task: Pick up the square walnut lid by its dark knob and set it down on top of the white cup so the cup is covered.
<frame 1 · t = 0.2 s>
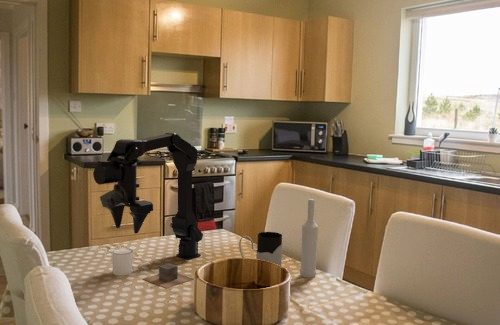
hand: (126, 230, 161), 14 cm above the table, tool pointing down, fingers open, 9 cm apart
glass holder: (259, 281, 161), on the table
walnut lid: (168, 281, 160), on the table
bottle: (307, 276, 168), on the table
white cup: (122, 273, 165), on the table
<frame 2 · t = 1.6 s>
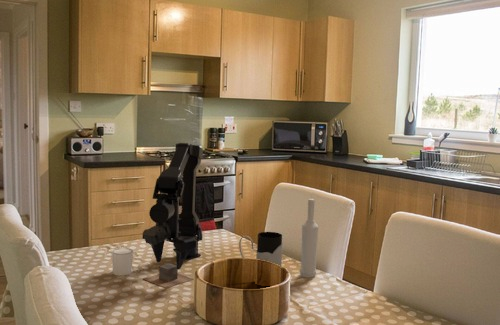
hand: (168, 265, 159), 4 cm above the table, tool pointing down, fingers open, 9 cm apart
nothing on the table moved.
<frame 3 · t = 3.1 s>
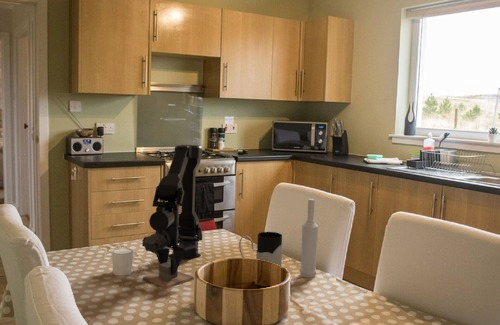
hand: (168, 273, 160), 2 cm above the table, tool pointing down, fingers closed on walnut lid, 4 cm apart
walnut lid: (168, 279, 160), on the table, touching gripper
everything else where it was.
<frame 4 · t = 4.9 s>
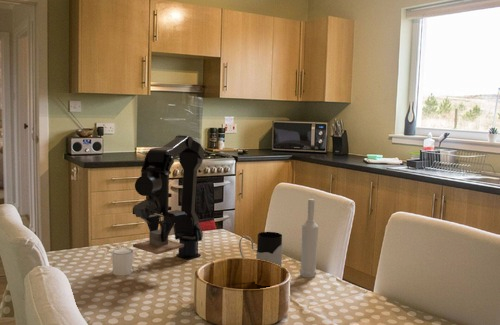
hand: (158, 240, 159), 12 cm above the table, tool pointing down, fingers closed on walnut lid, 4 cm apart
walnut lid: (158, 246, 160), point 10 cm above the table, touching gripper
everything else where it was.
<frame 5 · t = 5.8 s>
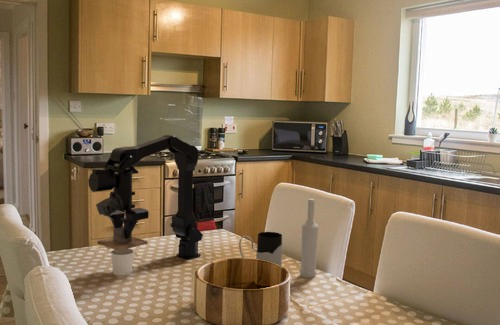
hand: (122, 237, 163), 11 cm above the table, tool pointing down, fingers closed on walnut lid, 4 cm apart
walnut lid: (122, 243, 164), point 9 cm above the table, touching gripper
everything else where it was.
when the fingers open (10 cm above the table, at t = 6.7 s): walnut lid stays where it is, resting on white cup.
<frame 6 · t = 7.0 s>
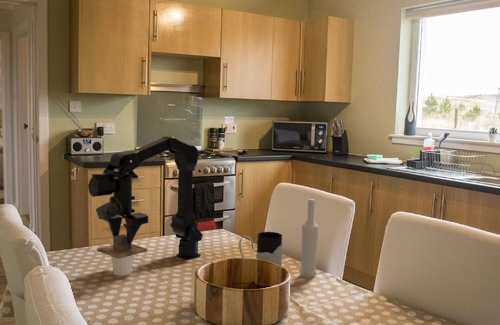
hand: (122, 241, 164), 10 cm above the table, tool pointing down, fingers open, 7 cm apart
walnut lid: (122, 251, 164), point 7 cm above the table, touching white cup
white cup: (122, 273, 165), on the table, touching walnut lid
everything else where it was.
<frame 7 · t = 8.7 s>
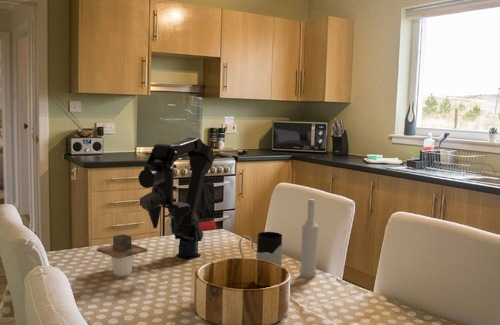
hand: (164, 230, 168), 13 cm above the table, tool pointing down, fingers open, 9 cm apart
nothing on the table moved.
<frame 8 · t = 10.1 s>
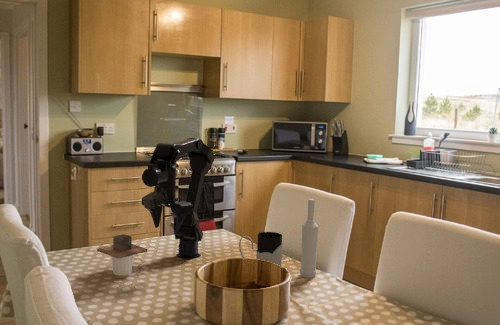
hand: (166, 230, 168), 13 cm above the table, tool pointing down, fingers open, 9 cm apart
nothing on the table moved.
at the end: walnut lid 0.0 cm from the white cup (horizontally); walnut lid point 7.0 cm above the table; white cup tilted 0° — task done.
